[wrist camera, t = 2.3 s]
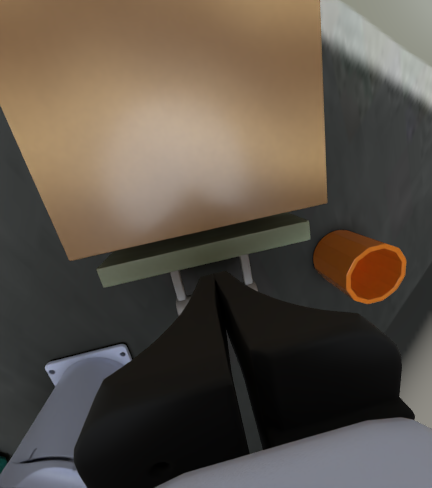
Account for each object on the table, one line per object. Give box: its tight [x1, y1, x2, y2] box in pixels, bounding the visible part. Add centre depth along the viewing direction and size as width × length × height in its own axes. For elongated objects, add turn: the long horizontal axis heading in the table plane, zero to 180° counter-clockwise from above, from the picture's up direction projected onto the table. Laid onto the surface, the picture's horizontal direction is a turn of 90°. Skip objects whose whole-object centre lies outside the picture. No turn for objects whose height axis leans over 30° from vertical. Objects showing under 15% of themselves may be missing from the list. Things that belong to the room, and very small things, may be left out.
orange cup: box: [313, 230, 406, 304], centre depth 20 cm, size 5×5×5 cm
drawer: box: [96, 212, 310, 315], centre depth 15 cm, size 19×12×7 cm, turn 11°
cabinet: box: [0, 0, 327, 261], centre depth 13 cm, size 16×14×9 cm
